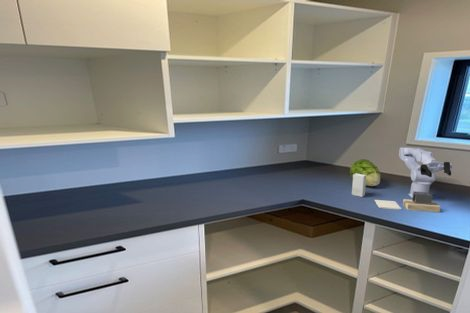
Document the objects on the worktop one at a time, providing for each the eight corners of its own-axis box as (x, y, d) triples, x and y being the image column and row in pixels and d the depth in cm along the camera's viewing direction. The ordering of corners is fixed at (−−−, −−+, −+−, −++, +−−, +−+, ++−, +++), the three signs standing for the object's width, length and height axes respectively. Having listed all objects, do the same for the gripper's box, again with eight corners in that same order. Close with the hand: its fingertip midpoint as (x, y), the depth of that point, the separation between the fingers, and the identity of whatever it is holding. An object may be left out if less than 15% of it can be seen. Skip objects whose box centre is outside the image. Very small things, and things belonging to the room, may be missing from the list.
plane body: (402, 204, 148) (404, 194, 147) (432, 206, 145) (434, 196, 144) (407, 209, 141) (409, 199, 140) (439, 212, 138) (441, 201, 137)
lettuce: (358, 193, 172) (369, 172, 164) (341, 173, 189) (351, 154, 182) (380, 195, 176) (392, 175, 169) (362, 175, 193) (372, 156, 186)
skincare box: (365, 195, 161) (367, 174, 158) (362, 197, 158) (364, 176, 155) (354, 193, 165) (356, 172, 162) (350, 194, 162) (353, 174, 159)
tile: (374, 200, 153) (374, 199, 153) (394, 202, 151) (394, 201, 151) (379, 207, 144) (379, 206, 143) (401, 209, 141) (401, 208, 141)
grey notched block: (412, 200, 145) (413, 191, 144) (427, 201, 144) (429, 192, 143) (415, 203, 141) (416, 194, 140) (430, 204, 140) (432, 195, 139)
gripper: (413, 157, 147) (422, 168, 134) (446, 154, 142) (459, 164, 130) (414, 170, 149) (422, 181, 137) (446, 167, 144) (458, 178, 132)
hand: (440, 174), depth 133 cm, fingers open, 7 cm apart
